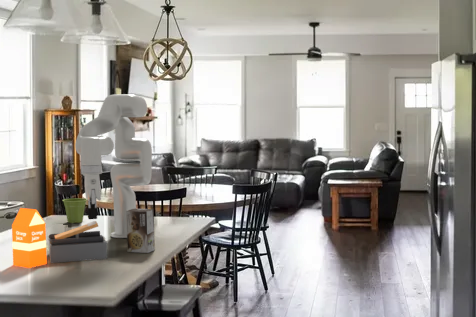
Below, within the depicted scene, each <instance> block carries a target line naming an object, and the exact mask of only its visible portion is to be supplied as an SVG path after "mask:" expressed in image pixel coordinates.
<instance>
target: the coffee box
mask: <svg viewBox="0 0 476 317" xmlns="http://www.w3.org/2000/svg"><path fill="white" fill-rule="evenodd" d="M154 211H155V210H154V208H136V209H131V210H128V211H126V222H127V238H126V246H127V247H126V248H127V251H126V252H127V253H143V254H144V253H145V254H146V253H147V254H149V253H151V252H153V251H155V250H156V247H155V246H156V245H155V215H154V214H155V212H154Z"/></svg>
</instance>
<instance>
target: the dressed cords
mask: <svg viewBox="0 0 476 317" xmlns="http://www.w3.org/2000/svg"><path fill="white" fill-rule="evenodd" d="M60 233H61V232H60ZM60 233H59V232H58V233H50V234H49V235H48V240H49V239H54V240H51V241H50V244H51V245H62V244H76V243H91V242H104V238H105V237H104V236H103V235H102V236H100V235H101V231H100V230H93V231H84V232H81V233H78V234H79V237H83V238H76V237H75V235H73V236H70V237H67V238H69V239H55V236H54V235H57V234H60ZM94 236H98V237H94ZM103 237H104V238H103Z"/></svg>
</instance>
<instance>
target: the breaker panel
mask: <svg viewBox="0 0 476 317" xmlns="http://www.w3.org/2000/svg"><path fill="white" fill-rule="evenodd" d="M100 236H103V235H102V234H100ZM75 237H76V238H83V237H79V234H76V235H75ZM94 237H98V236H94ZM103 238H104V242H91V243H76V244H62V245H51V244H50V241H51V240H54V239H49V238H48V256H49V261H50V263H52V264H53V263H54V264H55V263H67V262H78V261H91V260H95V261H96V260H105V259H106V260H107V259H108V243H107V241H106V238H105V236H103ZM64 239H69V238H64Z"/></svg>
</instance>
